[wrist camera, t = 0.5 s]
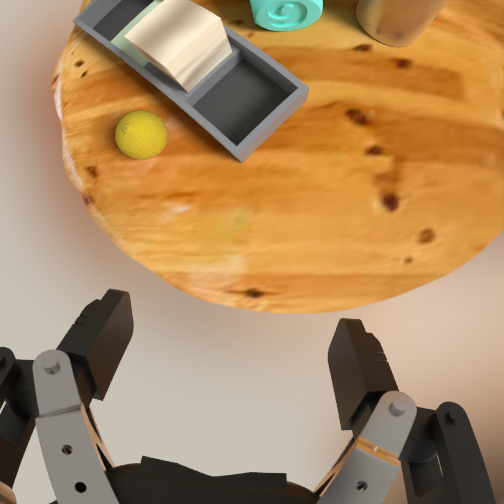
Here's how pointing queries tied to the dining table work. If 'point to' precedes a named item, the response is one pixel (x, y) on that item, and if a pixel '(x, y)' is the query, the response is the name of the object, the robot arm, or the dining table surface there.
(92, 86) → the dining table surface
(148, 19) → the ash block
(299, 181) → the dining table surface
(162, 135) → the lemon
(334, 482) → the robot arm
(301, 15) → the decorative dice
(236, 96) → the tray
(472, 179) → the dining table surface
